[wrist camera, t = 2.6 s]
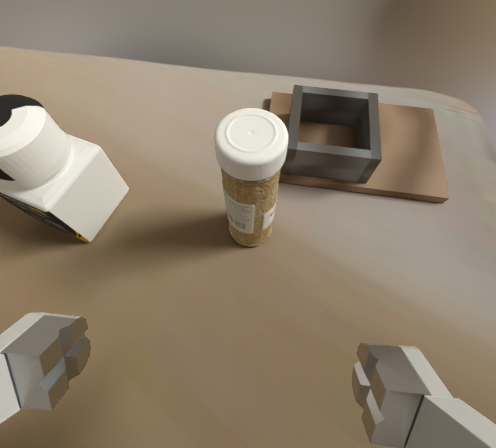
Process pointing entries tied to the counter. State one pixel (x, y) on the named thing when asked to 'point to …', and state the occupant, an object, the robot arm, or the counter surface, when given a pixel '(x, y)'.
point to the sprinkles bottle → (250, 171)
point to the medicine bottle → (54, 171)
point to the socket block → (360, 144)
